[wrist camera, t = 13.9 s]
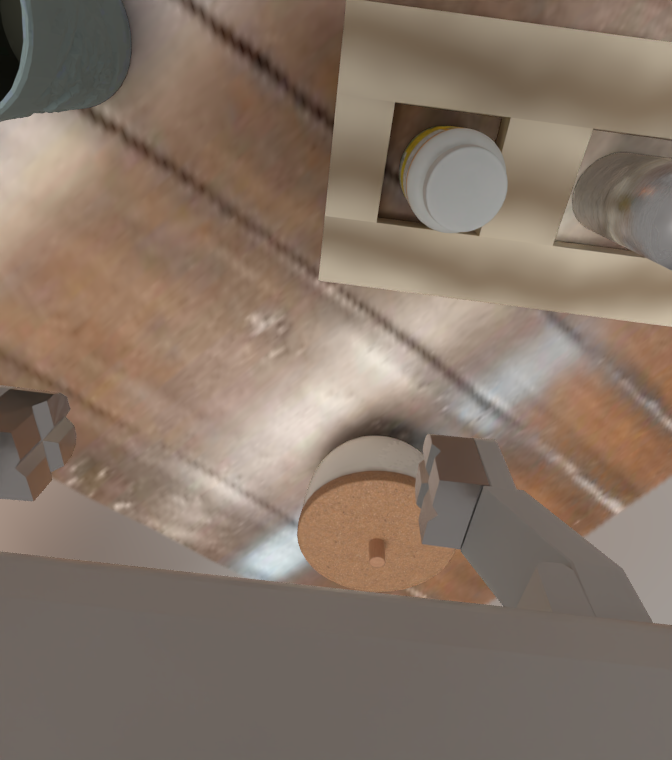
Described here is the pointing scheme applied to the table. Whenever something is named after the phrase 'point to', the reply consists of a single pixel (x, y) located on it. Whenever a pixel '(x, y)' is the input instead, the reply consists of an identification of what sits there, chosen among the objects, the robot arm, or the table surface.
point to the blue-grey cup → (61, 54)
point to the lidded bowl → (368, 518)
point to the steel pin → (629, 203)
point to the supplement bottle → (453, 178)
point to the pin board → (517, 144)
